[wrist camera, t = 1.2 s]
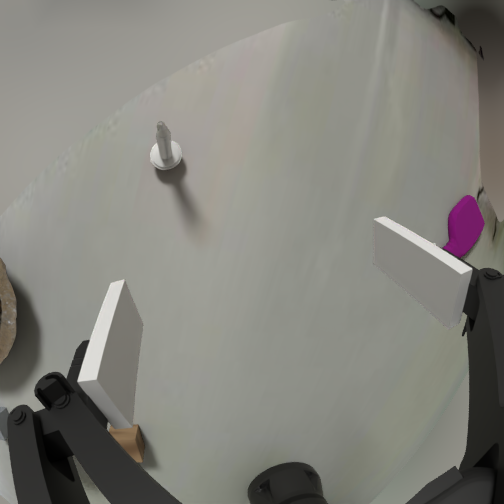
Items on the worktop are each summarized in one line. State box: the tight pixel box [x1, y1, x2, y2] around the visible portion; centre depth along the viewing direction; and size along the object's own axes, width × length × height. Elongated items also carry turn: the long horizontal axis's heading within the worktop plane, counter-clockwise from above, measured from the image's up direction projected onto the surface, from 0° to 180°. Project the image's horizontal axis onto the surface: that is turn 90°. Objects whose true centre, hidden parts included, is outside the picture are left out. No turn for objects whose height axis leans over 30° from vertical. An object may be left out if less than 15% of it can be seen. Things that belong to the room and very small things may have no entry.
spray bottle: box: [433, 195, 485, 258], centre depth 57 cm, size 3×11×24 cm
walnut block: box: [109, 425, 145, 462], centre depth 39 cm, size 5×5×5 cm
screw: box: [150, 121, 182, 170], centre depth 38 cm, size 13×5×5 cm
